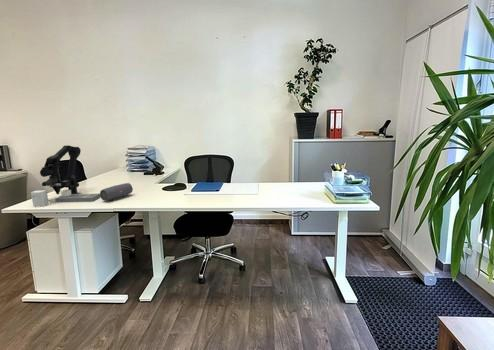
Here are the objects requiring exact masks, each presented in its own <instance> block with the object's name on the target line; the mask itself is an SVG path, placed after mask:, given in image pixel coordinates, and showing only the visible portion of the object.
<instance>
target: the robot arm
mask: <svg viewBox="0 0 494 350" xmlns="http://www.w3.org/2000/svg"><path fill="white" fill-rule="evenodd" d="M81 151H82V150H81V148H80V147H79V146H72V145H67V144H66V145H63V146H62V147H61V149H59V150H58V151H57V152H56V153H54V154H53V155H50V156H49V157H47V158H46V161H45V163H44V166H42V167H41V169H40V171H39V174H40V176H41V177H43V178H44V177H49V179H47V180H46V181H43V182H42V183H41V186H42V187H46V186H47V187H49V188H52V189H53V191H54V192H55V194H56V195H58V196H59V195H60V193H61V191H62V190H61V189H62V187H65V188H67V190H71V194H80V192H78V187H80V183H79V182H78V181H77V177H76V169H77V168H76V167H77V161H78V158H79V157H80V155H81ZM67 153H68V156H69V162H68V169H67V175H64V176H63V180H62V179H61V177H62V176H61V174H60V170H59V168H60V167H61V166H60V165H59V164H60V162H61V160H62V158H63V157H64V156H66V154H67Z"/></svg>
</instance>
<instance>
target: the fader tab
mask: <svg viewBox="0 0 494 350" xmlns="http://www.w3.org/2000/svg"><path fill="white" fill-rule="evenodd" d="M60 193H61V195H60V196H62V197H63V196H70V195H71V190H68V189H63V190H60Z"/></svg>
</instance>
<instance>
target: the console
mask: <svg viewBox="0 0 494 350" xmlns="http://www.w3.org/2000/svg"><path fill="white" fill-rule="evenodd" d="M98 199H100V192H99V193H79V194H71V195H70V196H63V197H62V195H60V196H57V197H55V198H54V200H55V203H91V202H92V203H93V202H95V201H97V200H98Z"/></svg>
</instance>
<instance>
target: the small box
mask: <svg viewBox="0 0 494 350" xmlns="http://www.w3.org/2000/svg"><path fill="white" fill-rule="evenodd" d="M30 195H31V196H30V197H31V201H32V206H37V207H46V206H47V205H49V204H50V203H49V202H50V201H49V196H48V191H47V189H44V190H43V189H42V190H40V189H39V190H34V191H31V192H30Z"/></svg>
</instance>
